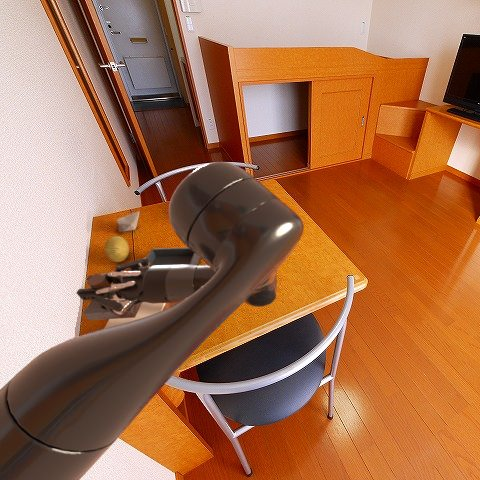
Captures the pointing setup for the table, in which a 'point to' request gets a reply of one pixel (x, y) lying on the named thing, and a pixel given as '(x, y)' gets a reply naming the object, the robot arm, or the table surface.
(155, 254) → the bin
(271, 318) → the table surface
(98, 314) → the stamp with brown handle
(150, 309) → the beige flat block
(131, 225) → the paper boat
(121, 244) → the sculpture
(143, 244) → the table surface
